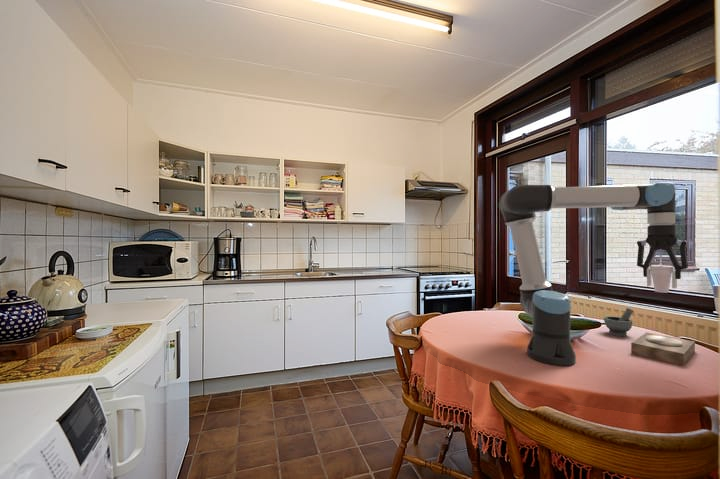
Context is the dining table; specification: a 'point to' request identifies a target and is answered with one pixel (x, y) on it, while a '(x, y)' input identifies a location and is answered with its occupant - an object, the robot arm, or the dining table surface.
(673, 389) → the dining table surface
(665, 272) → the smoothie
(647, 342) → the base
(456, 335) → the dining table surface
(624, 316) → the mortar and pestle
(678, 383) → the dining table surface
